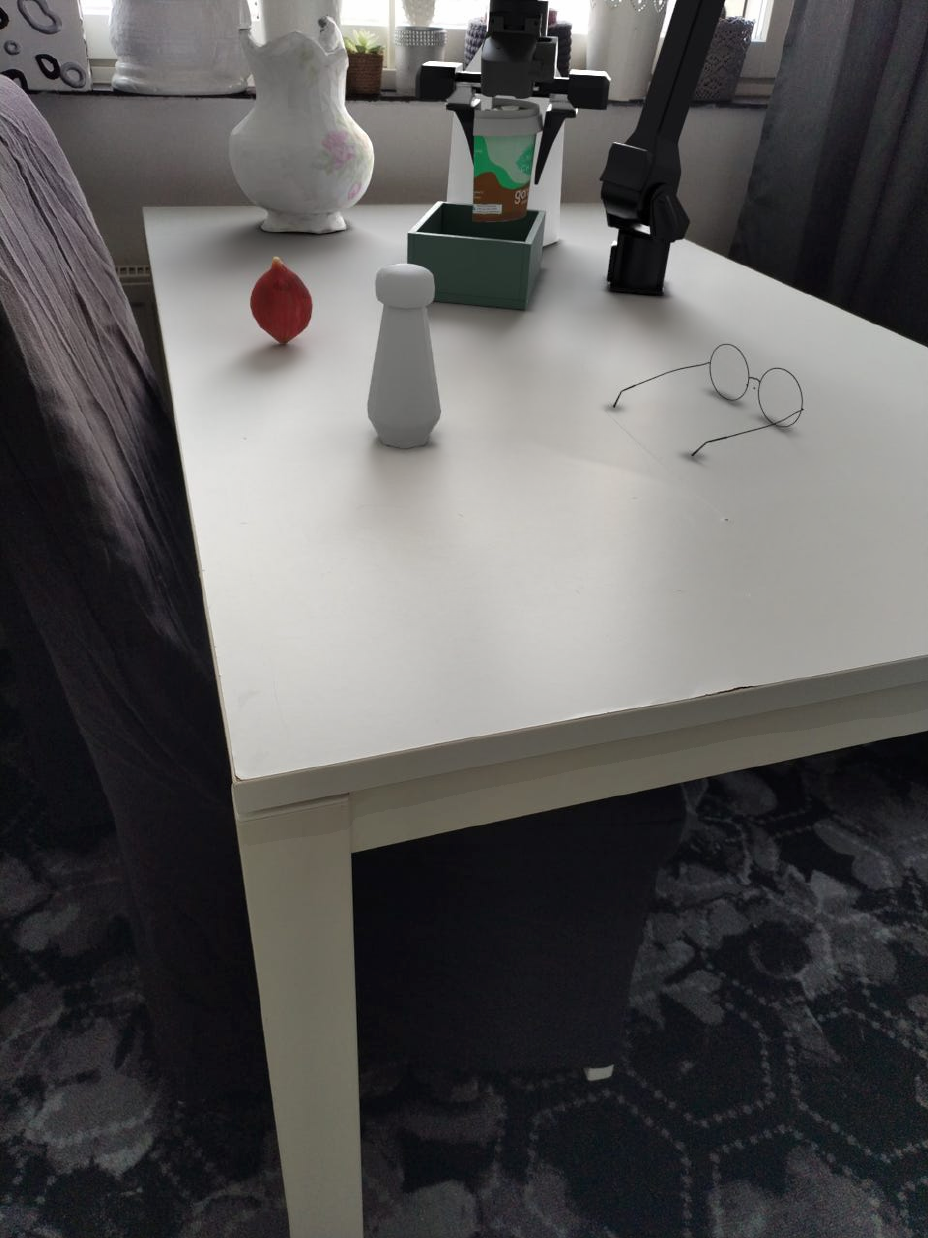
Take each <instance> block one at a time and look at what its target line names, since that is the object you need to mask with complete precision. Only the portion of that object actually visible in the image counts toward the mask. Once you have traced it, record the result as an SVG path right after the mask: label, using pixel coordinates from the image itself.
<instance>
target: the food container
mask: <svg viewBox="0 0 928 1238" xmlns="http://www.w3.org/2000/svg"><path fill="white" fill-rule="evenodd" d="M543 127H544V126H543V117H542V113H541V112H540V105H539V104H537V103H534V102H530V101H524V100H518V99H509V98H496V97H492V106H491V109H485V110H475V118H474V129H473V135H474V172H473V221H478V222H500V221H510V220H515V219H520V218H522V217H524V216H525V215H526V211H527V204H528V196H529V189H530V181H531V174H532V166H533V159H534V151H535V144H536V136H537V133H539V132H542V131H543Z"/></svg>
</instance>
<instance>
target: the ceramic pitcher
mask: <svg viewBox="0 0 928 1238" xmlns="http://www.w3.org/2000/svg"><path fill="white" fill-rule="evenodd" d="M252 24H253V23H252V21H248V22H247V21H246V22H241V23H239V25H235V28H236V30H237V33H238V40H239V42H240V46H241V48H242V51H243V54H244V57H245V58H246V61H247V65H248V66H249V70H250V73H251V75H252V78H253V83H254V89H255V96H256V98H255V100H254V101H255V102H254V105H253V107H252V109H251V110H250V112H249V113H248V114H247V115H246V116H245V117H244V118H243V119H242V120H240V122H239V123H238V124H237V125H236V126H234V128H233V129H232V130H231V133H230V134H229V138H228V139H229V140H228V157H229V161H230V162H229V163H230V166H231V170H232V173H233V176H234V178H235V181H236V182H237V185H238V186H239V187H240V189H241V191H242V192H243V193H244V195H245V196H246V198H248V199H249V201H250V202H251V203H253V204H254V205H256V206H258V207H259V208H261V209H263V210H265V211H266V212H267V216H266V218H265V219H264V222H263V223H261V226H260V228H261V229H262V230H263V231H264V232H265V231H266V232H269V233H270V232H271V233H281V232H282V233H283V232H302V233H303V232H304V233H312V234H313V233H314V234H319V235H320V234H326V233H333V232H336V231H344V230H345V231H346V230H347V229H348V228H347V225H346V223H345V221H344V218H343V216H342V215H341V211H342V212H343V211H345V210H348V209H350V208H352V207H353V206H355V205H356V204H357V203H358V202H359V201H360V200H361V199H362V197H363V196H364V194H365V193H366V191H367V189H368V187H369V185H370V183H371V179H372V177H373V172H374V166H375V152H374V146H373V142H372V140H371V138H370V137H369V135H368V134H367V132H365V130H364V129H362V128H361V126H360V125H358V123H357V122H356V121H355V120H354V118H353V117H352V116H351V114H349V113H348V110H347V108H346V106H345V105H346V86H347V85H346V83H347V71H348V68H349V66H350V64H349V63H350V62H349V56H348V51H347V49H346V45H345V41H344V38H343V35H342V32H341V30H340V28H339V27H338V25H337V20H334V18H333V17H331V15H328V14H326V15H325V16H323V15H322V16H319V19H318V20H317V24H318V29H319V32H318V34H317V35H318V36H317V39H316V38H315V37H314V36H312V35H310V34H308V33H306V32H303V31H300V30H298V29H296V30H292V31H289V32H288V33H285V34H283V35H281V36H273V37H272V38H271V39H269V40H268V41H267V42H265V43H262V42H260V41H259V40H258V39H256V38H255V36H254V34H253V32H252V27H251V25H252Z"/></svg>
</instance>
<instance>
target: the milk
mask: <svg viewBox="0 0 928 1238" xmlns="http://www.w3.org/2000/svg"><path fill="white" fill-rule="evenodd" d="M482 46H483V43H482V44H481V45H480V47H479V48H478V50H477V52H476V53H475V54H474V56H473V58H472V59H471V61H469V64H468V65H467V67H466V68H465V70H463V72H475V73H481V54H482ZM555 77H559V78H562V75H561V73H560V71H559V70H558V67H557V66H556V73H555ZM496 98H509V99H516V98H515V97H514V96H499V95H497V96H496ZM476 99H477V100H481V110H485V109H491V106H492V97H486V96H484V95H482V94H478V96H477V97H476ZM518 100H524V101H530V102H534V103H537V104H539V105H540V112H541V113H542V117H543V126H544V121H545V115H546V111H547V109H548V107H549V105H550V104H551V102H549V98H537V97H529V98H527V99H518ZM452 117H453V118H452V128H451V129H452V130H451V142H450V154H449V164H448V165H449V166H448V167H449V168H448V177H447V178H448V179H447V191H446V201H445V202H452V203H463V204H473V172H474V167H473V163H472V159H471V155H470V151H469V147H468V143H467V139H466V136H465V133H464V131H463V128H462V125H461V123H460V121H459V119H458V117H457V115H456V113H455V112H454V111H453V116H452ZM565 120H566V119H565ZM565 120H564V122H563V124H562V126H561V128H560V130H559V132H558V134H557V136H556V138H555V140H554V142H553V144H552V147H551V150H550V153H549V156H548V158H547V161H546V164H545V167H544V169H543V172H542V175H541V178H540V181H539V183H538V185H535V184H534V180H535V168H536V163H537V158H538V153H539V147H540V142H541V137H542V132H543V131H542V132H539V133H537V136H536V144H535V151H534V159H533V166H532V174H531V181H530V189H529V196H528V204H527V209H532V210H544V211H546V217H545V228H544V238H543V247H546V246H549V245H551V244H553V243H556V242H558V241H559V234H560V233H559V232H560V217H561V216H560V214H561V196H562V177H563V161H564V159H563V158H564V142H565V141H564V140H565V122H566V121H565Z"/></svg>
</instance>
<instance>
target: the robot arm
mask: <svg viewBox="0 0 928 1238" xmlns="http://www.w3.org/2000/svg"><path fill="white" fill-rule="evenodd" d="M487 2H488V3H487V19H486V20H487V25H486V34H485V38H484V40H483V42H482V44H483V46H482V45H481V46H482V54H481V73H475V72H464V67H463V66H464V65H463V64H464V63H463V62H448V61H431V60H430V61H427V62H425V63H423V64H421V65H420V66H419V67H418V68H417V69H416V71H415V78H414V79H415V81H414V87H415V88H414V98H415V99H419V100H435V101H446V103H444V108H445V110H446V111H448V112H449V111H451V112H453V113H454V112H455V113H456V115H457V117H458V119H459V121H460V123H461V125H462V128H463V131H464V133H465V136H466V139H467V143H468V147H469V151H470V155H471V159H472V163H473V167H474V135H473V129H474V118H475V110H481V100H477V99H476V97H477V96H478V94H482V95H484V96H486V97H496V96H497V95H499V96H514V97H515V98H516V99H527V98H529V97H537V98H549V102H551V104H550V105H549V107H548V109H547V111H546V115H545V121H544V127H543V132H542V137H541V142H540V147H539V153H538V158H537V163H536V168H535V180H534V184H535V185H538V183H539V181H540V178H541V175H542V172H543V169H544V167H545V164H546V161H547V158H548V156H549V153H550V150H551V147H552V144H553V142H554V140H555V138H556V136H557V134H558V132H559V130H560V128H561V126H562V124H563V122H564V120H566V119H576V117H577V115H578V111H579V109H580V110H592V111H593V110H594V111H607V110H608V103H609V94H610V86H611V84H610V83H611V77H610V76H609V75H608V72H607V71H599V70H598V71H597V70H584V69H583V70H580V69H571V70H570V72H569V74H568V75H569V76H568V77H561V78H559V77H555V73H556V67H557V64H558V62H557V61H558V48H559V47H558V46H559V45H558V44H559V37H558V36H548V23H549V12H550V0H488V1H487ZM725 3H726V0H675V3H674V6H673V9H672V13H671V16H670V19H669V22H668V25H667V27H666V32H665V35H664V38H663V42H662V44H661V47H660V51H659V54H658V57H657V61H656V64H655V67H654V69H653V73H652V76H651V78H650V79H651V80H650V83H649V86H648V90H647V92H646V96H645V99H644V102H643V105H642V109H641V111H640V114H639V118H638V121H637V124H636V127H635V129H634V131H633V133H631V135H630V136H628V138H627V139H626V140H625V142H624V143H619V142H614V141H613V143H612V144H611V145H610V148H609V150H608V156H607V161H606V165H605V167H604V169H603V172H602V173H601V175H600V177H599V182H602V183H601V184H602V185H601V189H600V200H602V203H603V206H604V209H605V216H606V224H607V227H608V228H613V229H616V230H617V238H616V240H613V241H612V242H611V246H610V250H609V259H608V266H607V272H606V281H607V283H609V287H608V289H609V291H615V292H625V293H635V294H646V295H654V296H655V295H657V296H663V295H665V294H664V293H665V278H666V273H667V266H668V262H669V261H668V260H669V255H670V250H671V244H675V243H676V241H682V240H684V238H685V236H686V234H687V231H688V229H689V227H690V224H691V219H690V217H689V216H688V214H687V212H686V211H685V208H684V207H683V204H682V203H681V201H680V200H679V198H678V196H677V194H678V190H679V185H680V182H681V177H682V165H681V155H680V148H679V142H680V138H681V135H682V131H683V130H684V125H685V123H686V120H687V117H688V114H689V111H690V107H691V105H692V102H693V99H694V96H695V93H696V90H697V87H698V84H699V81H700V78H701V76H702V71H703V69H704V66H705V63H706V60H707V58H708V54H709V51H710V48H711V46H712V42H713V39H714V36H715V33H716V30H717V27H718V25H719V21H720V19H721V16H722V12H723V9H724V6H725Z"/></svg>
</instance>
